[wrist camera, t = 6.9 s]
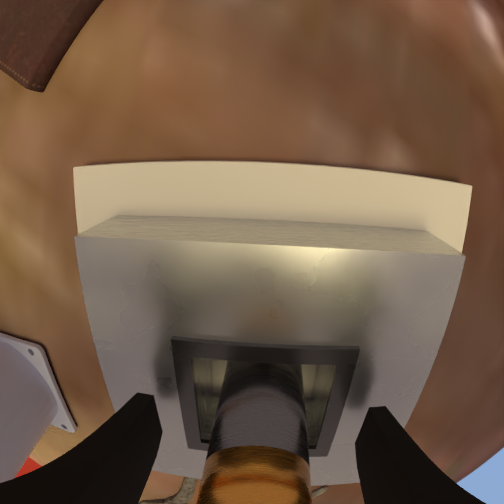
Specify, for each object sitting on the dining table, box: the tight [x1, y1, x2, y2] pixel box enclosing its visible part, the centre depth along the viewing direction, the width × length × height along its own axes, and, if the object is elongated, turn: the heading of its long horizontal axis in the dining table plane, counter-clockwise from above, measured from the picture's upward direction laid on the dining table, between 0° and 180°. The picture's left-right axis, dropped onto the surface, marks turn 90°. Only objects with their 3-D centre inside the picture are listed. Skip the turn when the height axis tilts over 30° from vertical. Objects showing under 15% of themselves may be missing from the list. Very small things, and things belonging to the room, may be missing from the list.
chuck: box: [74, 215, 466, 486], centre depth 12 cm, size 12×12×3 cm
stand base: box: [73, 160, 472, 397], centre depth 14 cm, size 16×16×1 cm
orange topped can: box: [196, 360, 312, 504], centre depth 9 cm, size 3×3×8 cm
